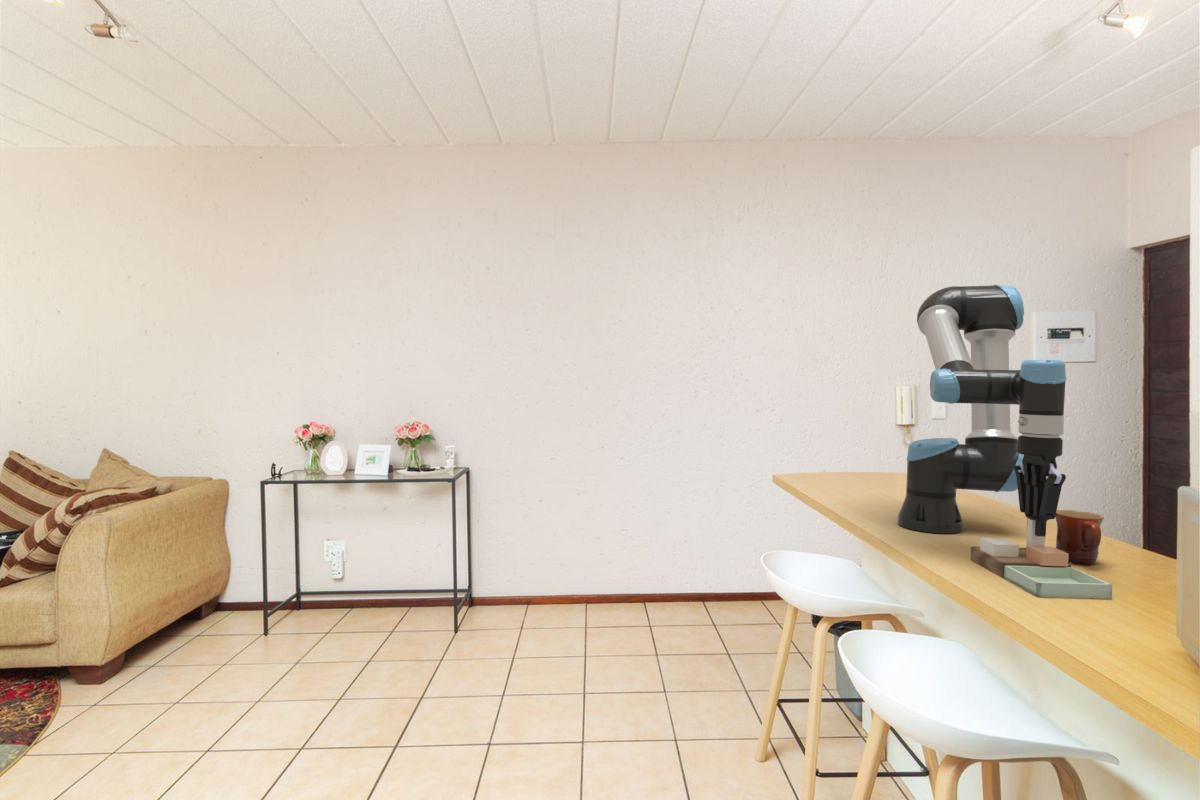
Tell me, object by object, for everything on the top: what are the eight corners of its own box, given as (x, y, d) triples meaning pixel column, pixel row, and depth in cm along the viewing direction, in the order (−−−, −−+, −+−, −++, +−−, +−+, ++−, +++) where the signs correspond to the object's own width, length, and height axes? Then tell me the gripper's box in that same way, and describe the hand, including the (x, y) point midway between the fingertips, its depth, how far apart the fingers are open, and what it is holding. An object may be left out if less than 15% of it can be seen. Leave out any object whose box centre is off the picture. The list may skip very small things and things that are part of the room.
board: (970, 560, 138) (971, 546, 138) (1032, 561, 138) (1033, 547, 138) (1002, 577, 127) (1003, 562, 126) (1070, 579, 126) (1071, 564, 126)
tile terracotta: (1025, 557, 130) (1026, 545, 130) (1051, 558, 130) (1051, 546, 130) (1041, 565, 125) (1042, 552, 125) (1068, 566, 125) (1068, 553, 125)
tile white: (979, 549, 136) (980, 538, 136) (1004, 550, 136) (1004, 538, 135) (993, 556, 131) (993, 544, 131) (1018, 557, 131) (1018, 545, 130)
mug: (1044, 553, 144) (1046, 508, 144) (1087, 556, 142) (1090, 511, 142) (1071, 569, 132) (1074, 520, 132) (1120, 573, 131) (1122, 523, 130)
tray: (1003, 578, 126) (1004, 565, 126) (1071, 580, 126) (1072, 567, 126) (1037, 596, 116) (1038, 582, 116) (1111, 599, 115) (1112, 584, 115)
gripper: (1002, 432, 136) (998, 542, 137) (1041, 438, 123) (1036, 559, 124) (1038, 433, 136) (1034, 543, 137) (1081, 439, 123) (1076, 560, 124)
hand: (1035, 550), depth 130 cm, fingers closed
